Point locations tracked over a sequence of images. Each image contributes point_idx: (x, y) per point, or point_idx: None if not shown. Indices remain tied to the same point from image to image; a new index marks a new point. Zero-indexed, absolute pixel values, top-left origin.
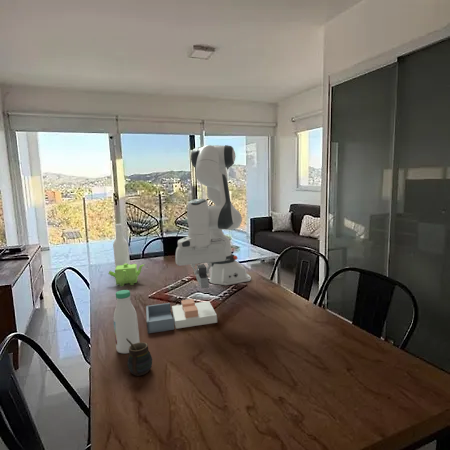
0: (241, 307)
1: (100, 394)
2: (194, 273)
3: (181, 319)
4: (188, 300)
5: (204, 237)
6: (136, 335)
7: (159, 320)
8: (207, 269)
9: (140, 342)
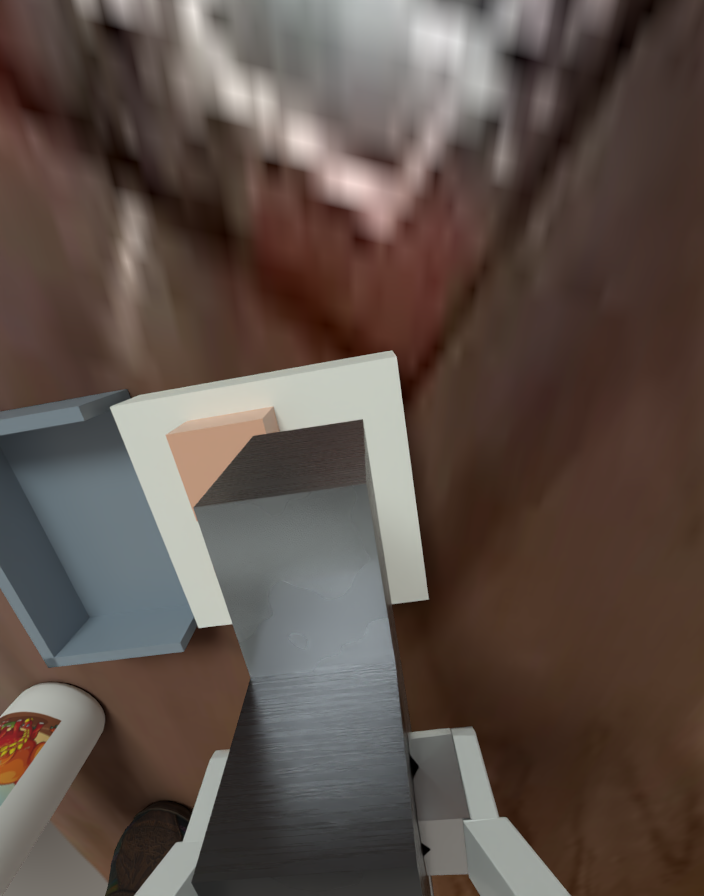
0: (614, 388)
1: (104, 864)
2: (216, 775)
3: (229, 616)
4: (228, 448)
5: None
6: (66, 790)
7: (111, 659)
8: (465, 871)
9: None
